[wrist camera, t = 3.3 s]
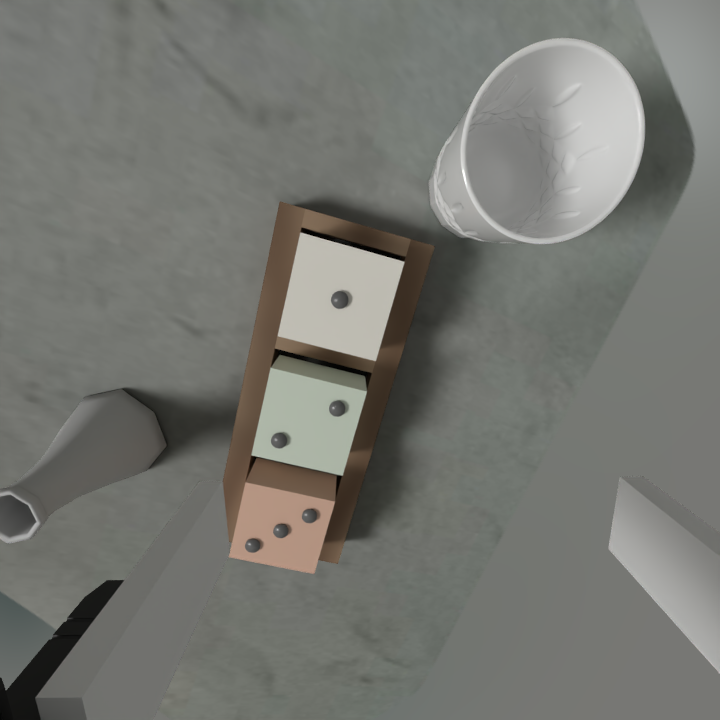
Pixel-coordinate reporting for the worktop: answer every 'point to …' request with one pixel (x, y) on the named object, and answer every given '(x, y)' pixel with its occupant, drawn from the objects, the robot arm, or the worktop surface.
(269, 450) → the tile
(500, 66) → the white cup
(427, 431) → the worktop surface
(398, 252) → the board
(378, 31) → the worktop surface
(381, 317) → the tile
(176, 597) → the robot arm
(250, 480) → the three-pip tile
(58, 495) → the flask
